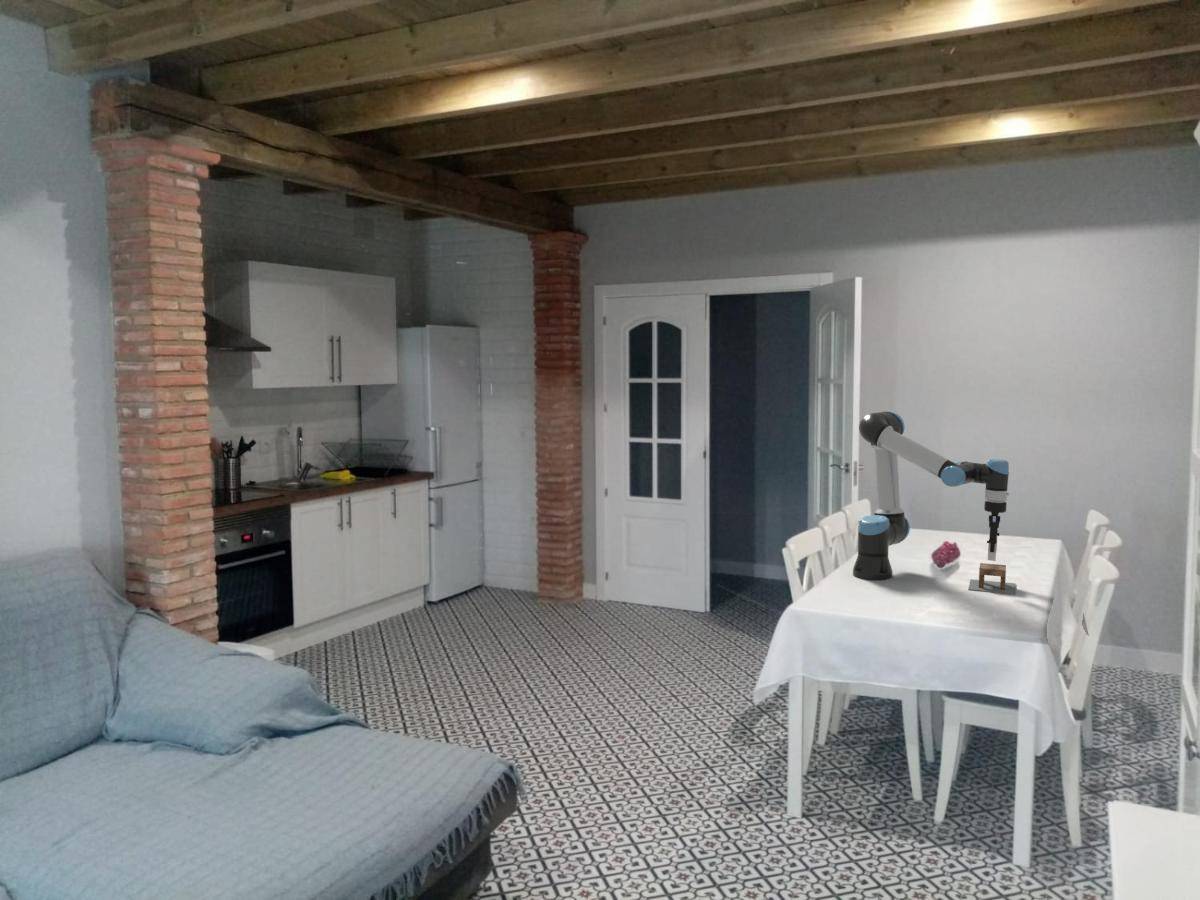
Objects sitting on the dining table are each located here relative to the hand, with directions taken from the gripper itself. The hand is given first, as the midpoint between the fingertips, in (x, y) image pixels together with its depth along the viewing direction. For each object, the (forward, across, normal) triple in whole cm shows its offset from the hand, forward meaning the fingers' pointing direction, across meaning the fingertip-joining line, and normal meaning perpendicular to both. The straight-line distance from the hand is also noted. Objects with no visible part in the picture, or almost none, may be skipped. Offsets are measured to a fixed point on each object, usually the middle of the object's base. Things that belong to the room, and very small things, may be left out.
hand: (992, 556), depth 344 cm
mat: (+12, 0, -1) cm, 12 cm away
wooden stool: (+11, 0, -1) cm, 11 cm away
